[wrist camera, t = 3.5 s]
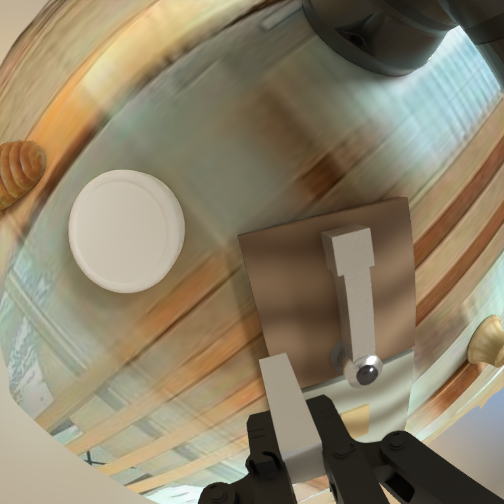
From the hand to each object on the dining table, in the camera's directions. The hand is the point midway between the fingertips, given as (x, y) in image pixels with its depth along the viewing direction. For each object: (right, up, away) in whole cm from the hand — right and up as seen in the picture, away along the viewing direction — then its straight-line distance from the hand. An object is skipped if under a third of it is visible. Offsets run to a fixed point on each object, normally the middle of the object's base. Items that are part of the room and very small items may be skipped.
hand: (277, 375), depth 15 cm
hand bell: (+34, -7, +16) cm, 38 cm away
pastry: (-27, +15, +7) cm, 31 cm away
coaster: (-12, +9, +9) cm, 18 cm away
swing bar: (+7, +2, +10) cm, 12 cm away
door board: (+9, -6, +14) cm, 18 cm away
